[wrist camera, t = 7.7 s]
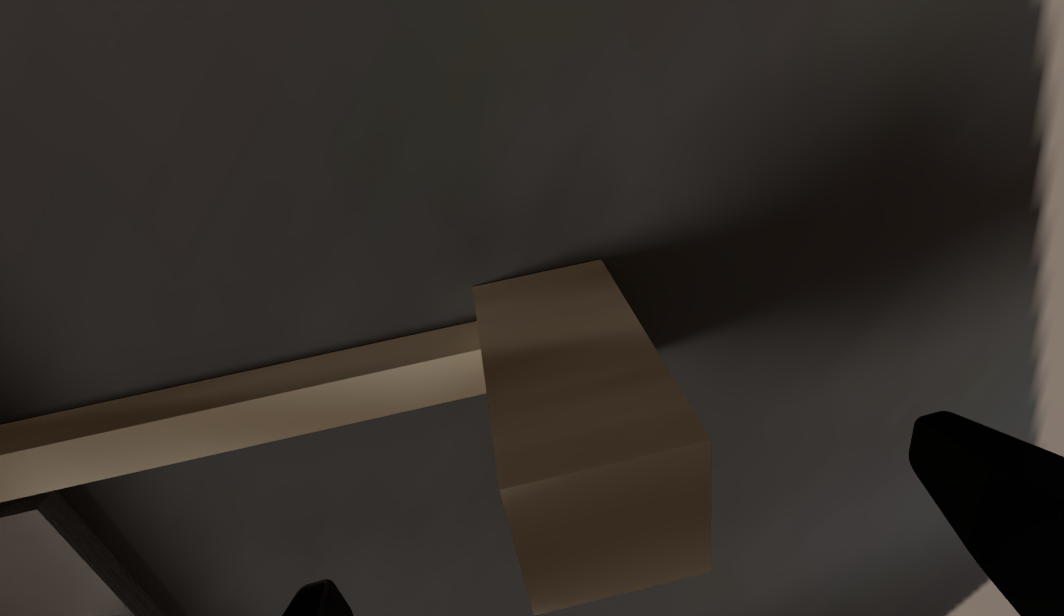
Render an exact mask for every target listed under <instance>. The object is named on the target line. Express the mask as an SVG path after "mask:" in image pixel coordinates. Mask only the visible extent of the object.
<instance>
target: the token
mask: <svg viewBox="0 0 1064 616" xmlns="http://www.w3.org/2000/svg"><path fill="white" fill-rule="evenodd" d="M0 616H165V615H164V614H163V612H162V611H161V610H160V609H159V608H158V607H157V605H156V604H155V603H154V602H153V601H152V600H151V599H150V597H149V596H148V595H147V594H146V593H145V592H144V590H143V589H142V588H141V587H140V586H139V585H138V583H137V582H136V581H135V580H134V579H133V578H132V577H131V575H130V574H129V573H128V572H127V571H126V570H125V568H124V567H123V566H122V565H121V564H120V563H119V561H118V560H117V559H116V558H115V557H114V556H113V554H112V553H111V552H110V551H109V550H108V549H107V548H106V546H105V545H104V544H103V543H102V542H101V541H100V539H99V538H98V537H97V536H96V535H95V534H94V532H93V531H92V530H91V529H90V528H89V527H88V526H87V524H86V523H85V522H84V521H83V520H82V519H81V517H80V516H79V515H78V514H77V513H76V512H75V510H74V509H73V508H72V507H71V506H70V505H69V503H68V502H67V501H66V500H65V499H64V498H63V497H62V495H61V494H60V493H59V492H58V491H57V490H54V491H49V492H45V493H40V494H36V495H31V496H27V497H22V498H18V499H14V500H9V501H5V502H0Z"/></svg>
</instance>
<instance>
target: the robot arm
mask: <svg viewBox="0 0 1064 616" xmlns="http://www.w3.org/2000/svg"><path fill="white" fill-rule="evenodd" d="M909 461H910V464H911V466H912V469H913V470H914V472H915V474H916V475H917V477H918V478H919V479H920V481H921V482H922V484H923V485H924V487H925V488H926V490H927V491H928V493H929V494H930V496H931V497H932V498H933V500H934V501H935V503H936V504H937V506H938V507H939V509H940V510H941V512H942V513H943V514H944V516H945V517H946V519H947V520H948V522H949V523H950V525H951V526H952V528H953V529H954V531H955V532H956V533H957V535H958V536H959V538H960V539H961V541H962V542H963V544H964V545H965V547H966V548H967V549H968V551H969V552H970V554H971V555H972V556H973V558H974V559H975V560H976V562H977V563H978V564H979V566H980V567H981V568H982V569H983V571H984V572H985V573H986V574H987V576H988V577H989V578H990V579H991V581H992V582H993V583H994V584H995V585H996V587H997V588H998V589H999V590H1000V592H1001V593H1002V594H1003V595H1004V596H1005V598H1006V599H1007V600H1008V601H1009V602H1010V604H1011V605H1012V606H1013V607H1014V608H1015V610H1016V611H1017V612H1018V613H1019V614H1020V616H1064V457H1063V456H1060V455H1058V454H1055V453H1053V452H1050V451H1048V450H1045V449H1043V448H1040V447H1038V446H1035V445H1032V444H1030V443H1027V442H1025V441H1022V440H1020V439H1017V438H1015V437H1012V436H1010V435H1007V434H1005V433H1002V432H1000V431H997V430H995V429H992V428H990V427H987V426H985V425H982V424H980V423H977V422H975V421H972V420H970V419H967V418H965V417H962V416H960V415H957V414H955V413H952V412H948V411H939V412H935V413H932V414H928V415H924V416H921V417H919V418H918V419H917V420H916V421H915V423H914V428H913V433H912V438H911V444H910V449H909ZM282 616H353V613H352V610H351V608H350V607H349V605H348V603H347V602H346V600H345V599H344V597H343V596H342V594H341V593H340V591H339V590H338V588H337V587H336V585H335V584H334V583H333V581H331V580H328V579H325V580H321V581H318V582H314V583H310V584H307V585H305V586H303V587H302V588H300V590H299V591H298V592H297V593H296V595H295V596H294V598H293V599H292V601H291V603H290V604H289V606H288V607H287V609H286V610H285V612H284V614H283V615H282Z"/></svg>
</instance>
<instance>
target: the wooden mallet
mask: <svg viewBox="0 0 1064 616" xmlns="http://www.w3.org/2000/svg"><path fill="white" fill-rule="evenodd" d="M472 288H473V296H474V303H475V311H476V318H477V321H474V322H470V323H465V324H461V325H456V326H451V327H447V328H442V329H438V330H433V331H428V332H424V333H419V334H415V335H410V336H406V337H401V338H396V339H392V340H387V341H383V342H378V343H373V344H369V345H364V346H360V347H355V348H351V349H346V350H341V351H337V352H332V353H328V354H323V355H318V356H314V357H309V358H305V359H300V360H295V361H291V362H286V363H282V364H277V365H273V366H268V367H263V368H259V369H254V370H250V371H245V372H240V373H236V374H231V375H227V376H222V377H218V378H213V379H208V380H204V381H199V382H195V383H190V384H185V385H181V386H176V387H172V388H167V389H162V390H158V391H153V392H149V393H144V394H140V395H135V396H130V397H126V398H121V399H117V400H112V401H107V402H103V403H98V404H94V405H89V406H85V407H80V408H75V409H71V410H66V411H62V412H57V413H52V414H48V415H43V416H39V417H34V418H29V419H25V420H20V421H16V422H11V423H7V424H2V425H0V502H5V501H9V500H14V499H18V498H22V497H27V496H31V495H36V494H40V493H45V492H49V491H54V490H58V489H62V488H67V487H71V486H76V485H80V484H85V483H89V482H94V481H98V480H103V479H107V478H111V477H116V476H120V475H125V474H129V473H134V472H138V471H143V470H147V469H151V468H156V467H160V466H165V465H169V464H174V463H178V462H183V461H187V460H192V459H196V458H200V457H205V456H209V455H214V454H218V453H223V452H227V451H232V450H236V449H240V448H245V447H249V446H254V445H258V444H263V443H267V442H272V441H276V440H281V439H285V438H289V437H294V436H298V435H303V434H307V433H312V432H316V431H321V430H325V429H329V428H334V427H338V426H343V425H347V424H352V423H356V422H361V421H365V420H370V419H374V418H378V417H383V416H387V415H392V414H396V413H401V412H405V411H410V410H414V409H418V408H423V407H427V406H432V405H436V404H441V403H445V402H450V401H454V400H459V399H463V398H467V397H472V396H476V395H481V394H485V393H487V400H488V408H489V415H490V422H491V430H492V437H493V445H494V452H495V460H496V467H497V475H498V482H499V490H500V493H501V497H502V501H503V504H504V508H505V512H506V515H507V519H508V523H509V526H510V530H511V534H512V537H513V541H514V545H515V548H516V552H517V555H518V559H519V563H520V566H521V570H522V574H523V577H524V581H525V585H526V588H527V592H528V596H529V599H530V603H531V607H532V610H533V614H534V616H535V615H539V614H543V613H547V612H551V611H555V610H559V609H563V608H567V607H571V606H575V605H579V604H584V603H588V602H592V601H596V600H600V599H604V598H608V597H612V596H616V595H620V594H624V593H628V592H632V591H636V590H641V589H645V588H649V587H653V586H657V585H661V584H665V583H669V582H673V581H677V580H681V579H685V578H689V577H693V576H698V575H702V574H706V573H710V572H711V454H712V440H711V439H710V437H709V435H708V434H707V432H706V430H705V429H704V427H703V426H702V424H701V422H700V421H699V419H698V417H697V416H696V414H695V412H694V411H693V409H692V408H691V406H690V404H689V403H688V401H687V399H686V398H685V396H684V394H683V393H682V391H681V389H680V388H679V386H678V385H677V383H676V381H675V380H674V378H673V376H672V375H671V373H670V371H669V370H668V368H667V367H666V365H665V363H664V362H663V360H662V358H661V357H660V355H659V353H658V352H657V350H656V348H655V347H654V345H653V344H652V342H651V340H650V339H649V337H648V335H647V334H646V332H645V330H644V329H643V327H642V326H641V324H640V322H639V321H638V319H637V317H636V316H635V314H634V312H633V311H632V309H631V307H630V306H629V304H628V303H627V301H626V299H625V298H624V296H623V294H622V293H621V291H620V289H619V288H618V286H617V284H616V283H615V281H614V280H613V278H612V276H611V275H610V273H609V271H608V270H607V268H606V266H605V265H604V263H603V262H602V260H601V259H600V260H595V261H591V262H586V263H581V264H577V265H572V266H567V267H563V268H558V269H554V270H549V271H544V272H540V273H535V274H530V275H526V276H521V277H516V278H512V279H507V280H502V281H498V282H493V283H488V284H484V285H479V286H474V287H472Z"/></svg>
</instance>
